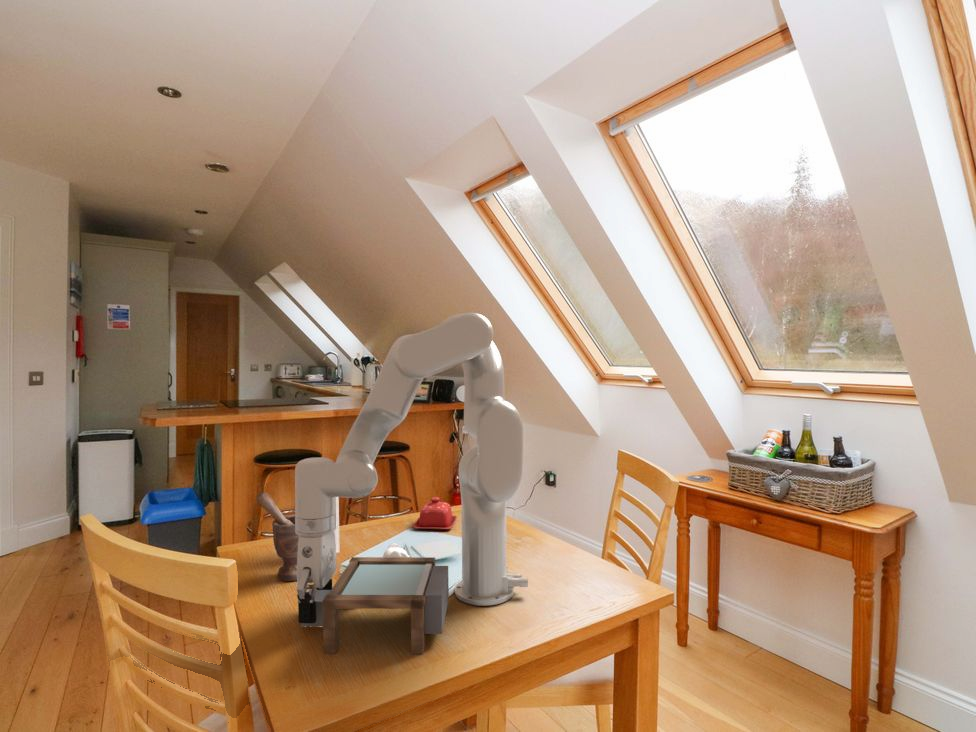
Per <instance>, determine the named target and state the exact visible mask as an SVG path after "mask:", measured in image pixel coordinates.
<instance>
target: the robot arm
mask: <svg viewBox="0 0 976 732" xmlns="http://www.w3.org/2000/svg"><path fill="white" fill-rule="evenodd" d="M493 340H494V329H493V325H492V323H491V322H490V320H489V319H488V318H487V317H485V316H484V315H483V314H480V313H477V312H465V313H457V314H453V315H451V316H449V317H447V318H446V319H444V321H443V322H442V323H441V324H439V325H436V326H434V327H431V328H429V329H426V330H423V331H420V332H416V333H412V334H405V335H401V336H399V337H398V338H397V339H395V341H394V342H393V343H392V345H391V347H390V349H389V350H388V353H387V355H386V356H385V359H384V361H383V364H382V365H381V368H380V370H379V373H378V375H377V377H376V380H375V381H374V383H373V386H372V388H371V390H370V392H369V394H368V395H367V398H366V401H364V404H363V405H362V407H361V409H360V411H359V413H358V415H357V417H356V419H355V420H354V422H353V423H352V426H351V429H349V432H348V434H347V436H346V438H345V441H344V442H343V444H342V447H341V449H340V451H339V453H338V455H337V458H336V461H335V462H334V460H332V459H331V458H328V457H309V458H308V457H307V458H304V459H301V460H300V461H298V462H297V463H296V464H295V469H294V498H295V499H294V504H295V505H294V508H295V509H294V515H295V533H296V534H297V535H299V540H298V554H297V580H296V583H297V586H296V596H297V603H298V606H297V607H298V608H297V609H298V610H297V614H298V615H297V617H298V619H297V620H298V623H299V624H301V623H315V622H316V601H314V600H315V595H316V590H331V589H332V588H333V576H334V574H335V573H336V571H337V561H338V560H337V554H336V541H335V530H336V497H339V498H349V499H359V498H363V497H366V496H368V495H370V494H371V493H372V492H373V491H374V490H375V489H376V487H377V486H378V480H379V478H378V477H379V476H378V472H377V469H376V467H375V466H374V462H375V461H376V459H377V456H378V454H379V453H380V450H381V447H382V446H383V444H384V442H385V441H386V438H387V437H388V436H389V435H390V433H391V432H392V431H393V430H394V429H395V428H397V427H398V426H399V425H400V424H401V423H402V422H403V421H404V420H405V419H406V417H407V415H408V413H409V412H410V409H411V406H412V404H413V402H414V400H415V397H416V395H417V393H418V391H419V389H420V387H421V385H422V382H423V380H424V379H425V378H428V377H431V376H434V375H436V374H437V375H438V374H439V373H441V372H444V371H447V370H450V369H451V368H454V367H456V366H458V365H460V364H461V366H462V371H463V380H464V396H463V397H464V399H463V400H464V401H463V402H464V403H463V404H464V405H463V409H464V410H463V426H464V429H465V430H466V432H467V434H469V435H470V436H471V437H472V438H473V439H475V440H476V445H475V446H473V447H470V448H469V449H468V450H466V451H465V452H464V453H463V455H462V457H461V459H460V461H459V464H458V481H459V482H458V483H459V489H460V500H461V501H460V502H461V580H460V581H459V582H458V583H457V584H456V585H455V588H454V595H455V597H456V598H458V600H459V601H461V602H463V603H464V604H465V603H466V604H469V605H472V606H482V607H484V606H485V607H487V606H489V607H490V606H495V605H500V604H502V603H505V602H507V601H509V600H510V599H511V598H512V597H513V595H514V592H515V590H514V587H518V588H528V587H529V584H528V583H529V582H528V581H529V579H528V577H523V575H522V573H511V572H509V568H508V566H507V503H506V502H507V501H509V500H511V499H512V498H513V497H514V496H515V495H516V494H517V493H518V491H519V489H520V487H521V483H522V480H523V479H522V478H523V465H524V463H523V461H524V457H523V456H524V453H523V452H524V426H523V421H522V417H521V415H520V412H519V410H518V409H517V408H516V407H515V406H514V405H513V404H512V403H511V402H509V401H507V400H506V396H505V395H506V393H505V389H506V387H505V368H504V362H503V358H502V356H501V353H500V351H499V349H498V347H497V345H496V344H495V343H494V341H493ZM308 583H309V584H308ZM312 583H313V584H312ZM307 590H312V591H311V596H310V594H309V592H308V591H307Z"/></svg>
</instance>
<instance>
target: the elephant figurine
mask: <svg viewBox="0 0 976 732" xmlns="http://www.w3.org/2000/svg"><path fill="white" fill-rule="evenodd" d="M411 556H412V557H413V556H414V553H413V554H411V555H408V552H407V550H405V549H404V548H402V547H399V545H398V544H397V543H391V544H390V545H389V546H388V547H387V549H386V550H384V553H383V556H382V557H411Z"/></svg>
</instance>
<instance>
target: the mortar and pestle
mask: <svg viewBox="0 0 976 732" xmlns="http://www.w3.org/2000/svg"><path fill="white" fill-rule="evenodd" d="M256 501H257V503H258V504H259V505H260V507H262V508H263V509H264V511H266V512H267V513H268V514H269V515H270V517H272V518H273V519H274V520H272V523H271V525H272V526H271V527H272V534H273V535H272V539H273V545H274V549H275V552H276V555H277V556H278V557H279V558H280V559H281V560H282V561H283V564H282V565H281V566H280V567H279V568H278V571H277V580H280V581H283V582H294V581H295V582H296V581H297V554H298V540H299V535H297V534H296V533H295V514H292V515H291V514H290V515H284V514H283V513H282V512H281V510H280V509H279V507H278V505H277V504H276V502H275V500H274V499H273V498H272V496H271V495H270V493H268V492H266V491H262V492H260V493H259V494H258V495H257V496H256Z"/></svg>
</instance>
